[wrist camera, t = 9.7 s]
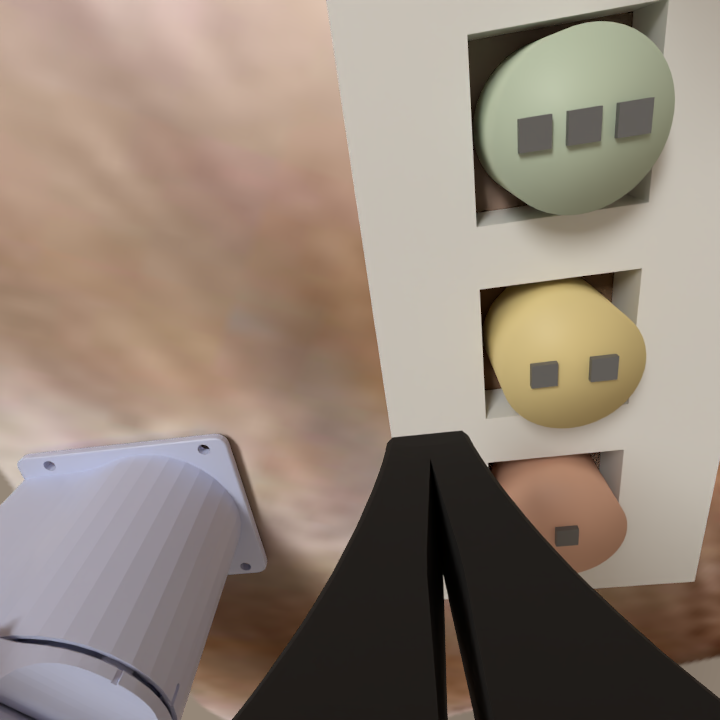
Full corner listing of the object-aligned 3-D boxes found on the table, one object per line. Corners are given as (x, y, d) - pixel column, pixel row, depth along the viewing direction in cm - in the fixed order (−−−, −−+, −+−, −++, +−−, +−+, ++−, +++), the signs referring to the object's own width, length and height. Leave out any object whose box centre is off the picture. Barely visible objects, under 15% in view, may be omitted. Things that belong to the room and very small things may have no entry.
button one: (491, 520, 23) (508, 583, 20) (487, 441, 21) (505, 498, 18) (591, 511, 22) (624, 575, 19) (597, 430, 21) (635, 486, 18)
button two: (485, 387, 20) (504, 438, 17) (480, 280, 18) (500, 316, 15) (601, 374, 19) (642, 424, 16) (608, 263, 17) (656, 296, 14)
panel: (413, 565, 25) (416, 601, 23) (325, -39, 14) (317, -59, 12) (670, 545, 24) (694, 581, 22) (784, -131, 13) (848, -168, 11)
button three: (476, 205, 17) (497, 227, 14) (469, 51, 15) (491, 38, 12) (614, 185, 16) (667, 203, 13) (625, 24, 14) (691, 3, 11)
